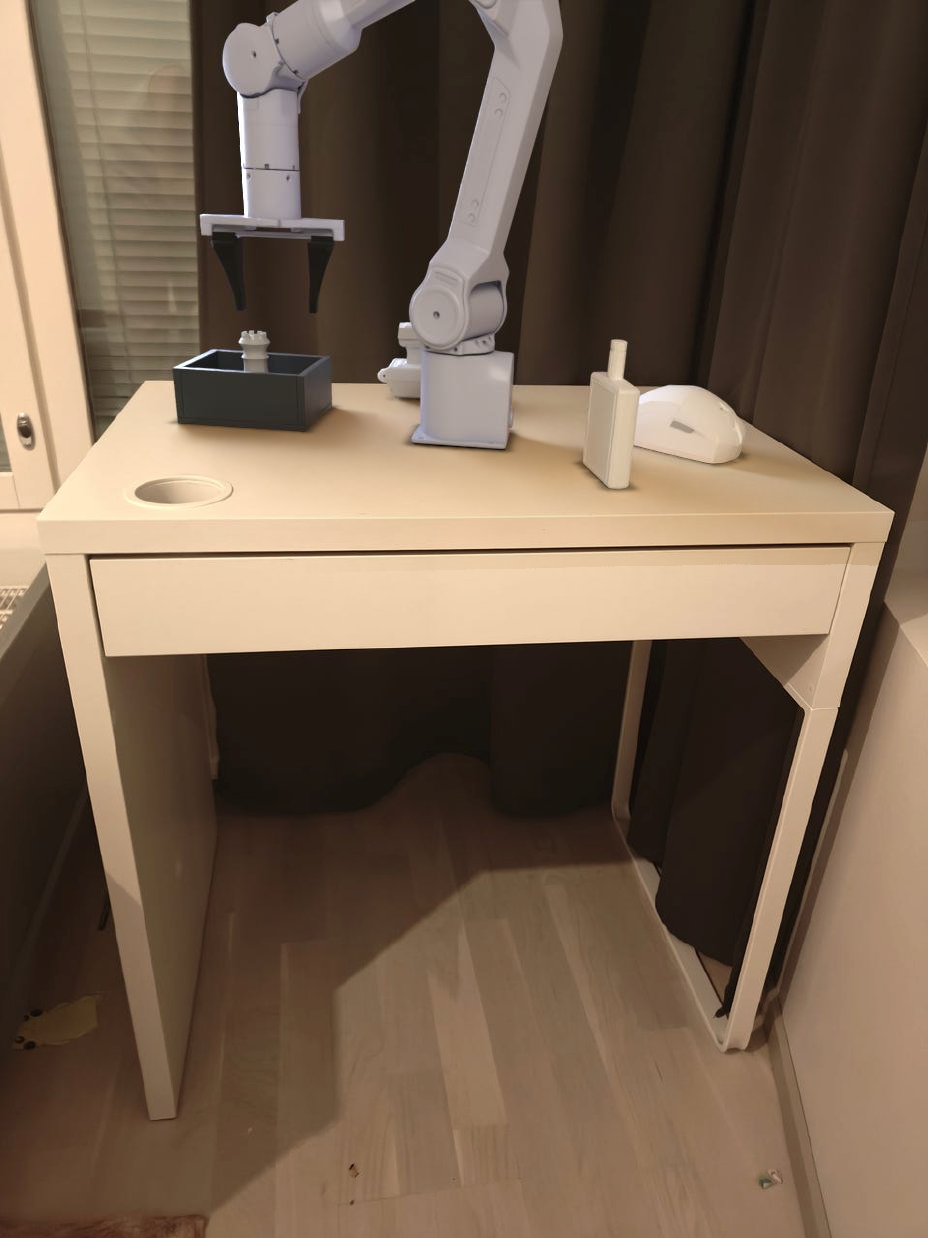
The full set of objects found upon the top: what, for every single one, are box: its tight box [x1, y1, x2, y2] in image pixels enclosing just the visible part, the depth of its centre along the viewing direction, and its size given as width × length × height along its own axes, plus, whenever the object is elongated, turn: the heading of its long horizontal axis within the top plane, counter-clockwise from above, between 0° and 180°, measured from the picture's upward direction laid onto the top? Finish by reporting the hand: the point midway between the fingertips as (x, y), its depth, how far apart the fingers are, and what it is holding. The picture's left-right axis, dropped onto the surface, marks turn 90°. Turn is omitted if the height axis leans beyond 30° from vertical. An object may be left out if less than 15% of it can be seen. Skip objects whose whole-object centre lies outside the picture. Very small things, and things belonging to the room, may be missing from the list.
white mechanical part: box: [377, 321, 422, 400], centre depth 109 cm, size 9×7×8 cm
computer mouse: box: [634, 384, 747, 464], centre depth 92 cm, size 6×13×6 cm, turn 47°
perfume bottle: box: [582, 339, 641, 490], centre depth 81 cm, size 8×2×12 cm, turn 10°
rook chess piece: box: [238, 330, 271, 373], centre depth 97 cm, size 4×4×8 cm
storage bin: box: [171, 348, 333, 432], centre depth 98 cm, size 14×12×6 cm
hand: (277, 310), depth 98 cm, fingers open, 7 cm apart
